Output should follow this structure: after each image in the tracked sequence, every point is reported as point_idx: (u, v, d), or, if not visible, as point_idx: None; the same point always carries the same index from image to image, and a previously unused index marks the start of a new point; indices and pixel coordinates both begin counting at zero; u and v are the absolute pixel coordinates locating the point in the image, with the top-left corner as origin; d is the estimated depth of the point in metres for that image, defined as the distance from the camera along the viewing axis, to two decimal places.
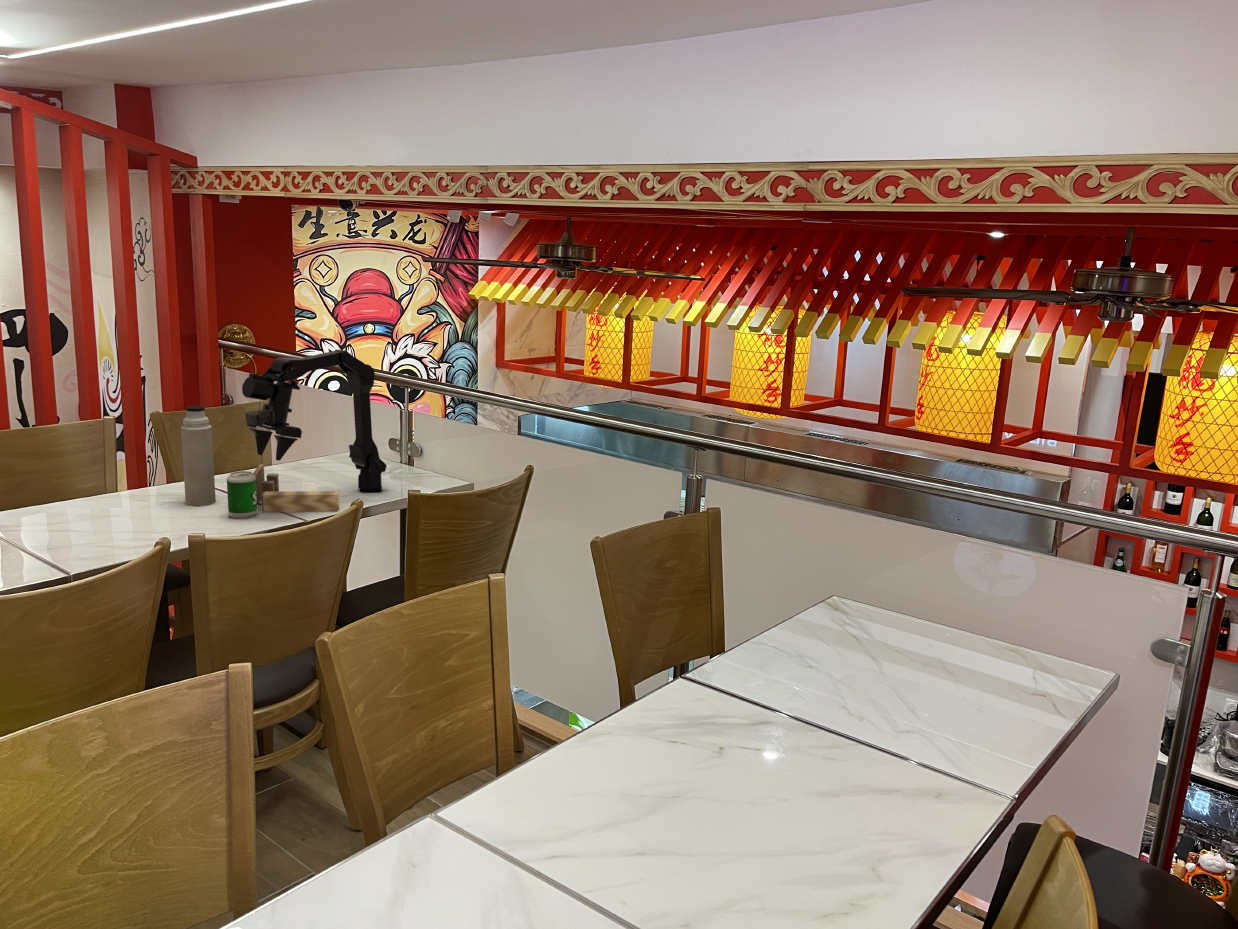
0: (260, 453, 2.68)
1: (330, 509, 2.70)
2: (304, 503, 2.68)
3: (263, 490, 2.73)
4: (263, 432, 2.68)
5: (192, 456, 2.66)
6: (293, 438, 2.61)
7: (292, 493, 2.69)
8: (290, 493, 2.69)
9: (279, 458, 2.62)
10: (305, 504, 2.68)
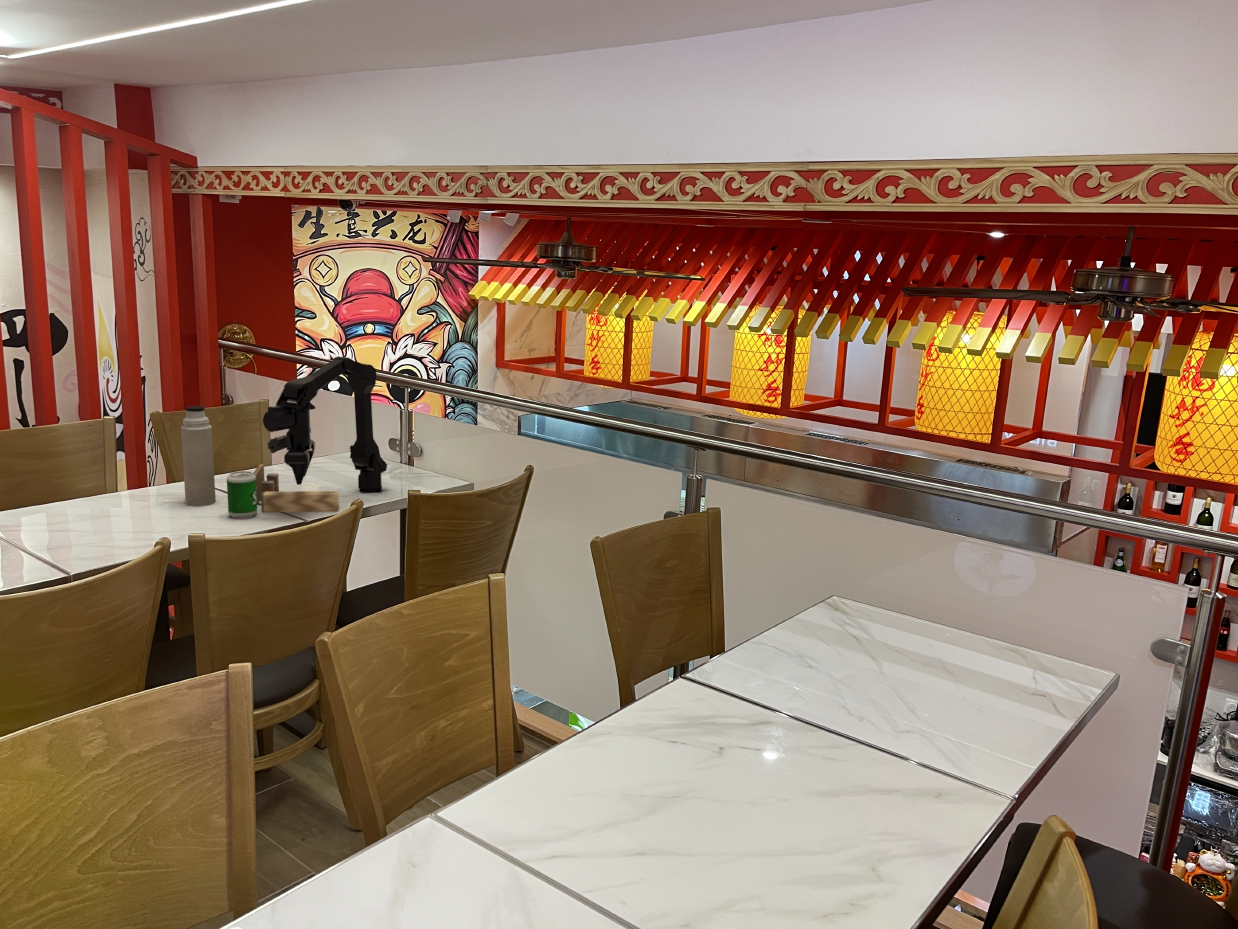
0: None
1: (330, 509, 2.70)
2: (304, 503, 2.68)
3: (263, 490, 2.73)
4: None
5: (192, 456, 2.66)
6: (301, 463, 2.60)
7: (292, 493, 2.69)
8: (290, 493, 2.69)
9: (299, 482, 2.64)
10: (305, 504, 2.68)
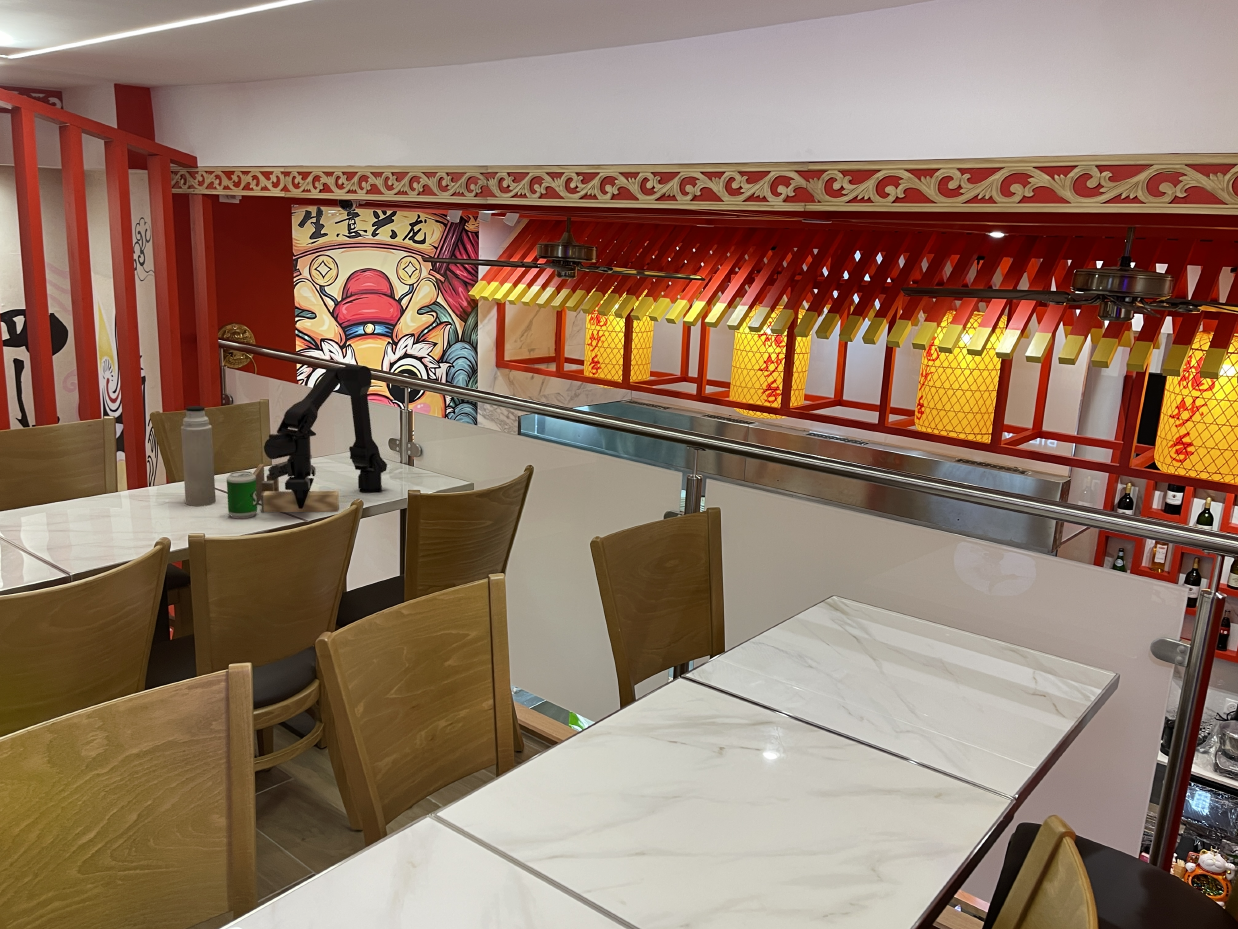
0: None
1: (330, 509, 2.70)
2: None
3: (263, 490, 2.73)
4: None
5: (192, 456, 2.66)
6: None
7: (292, 493, 2.69)
8: (290, 493, 2.69)
9: (301, 506, 2.68)
10: (305, 504, 2.68)
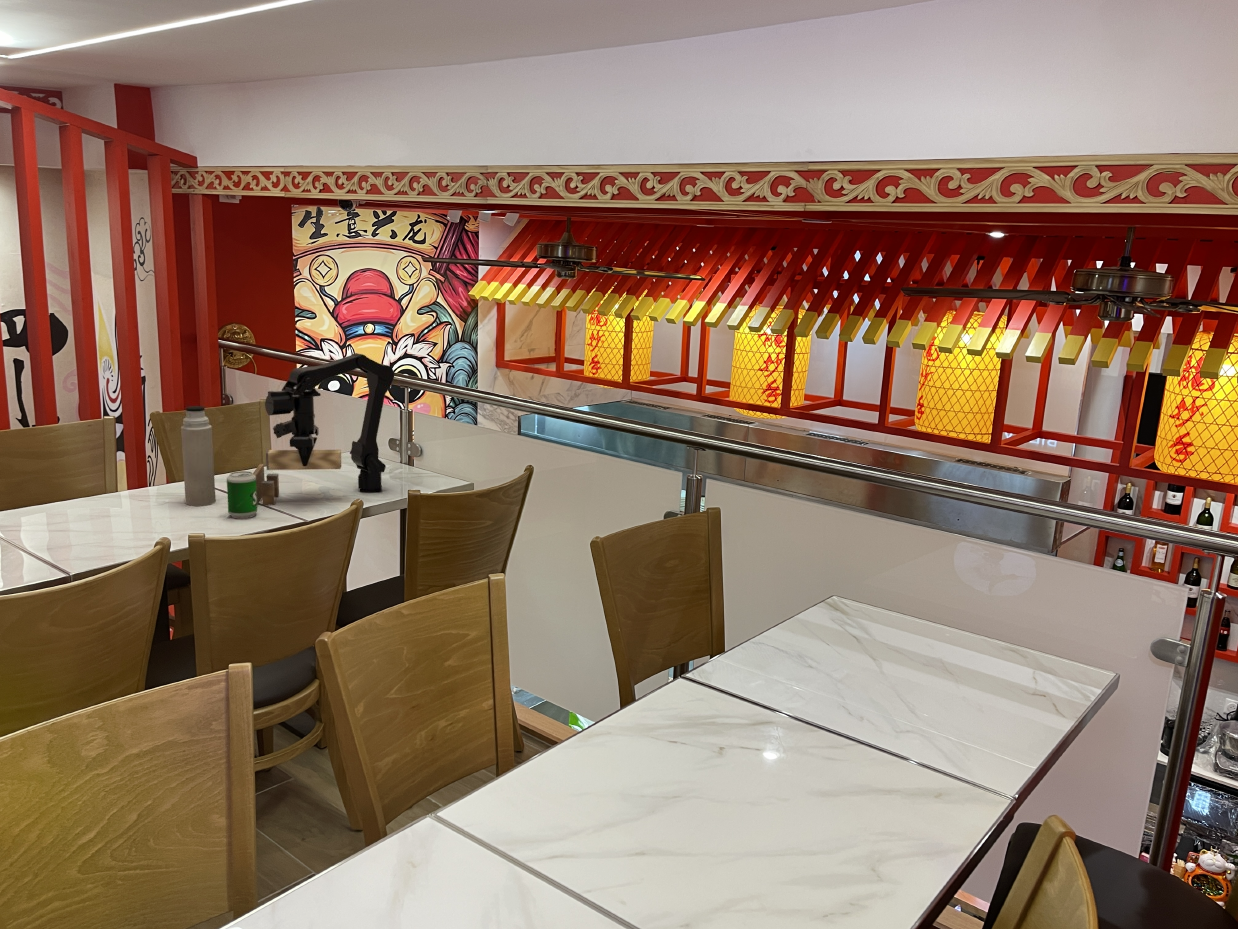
0: None
1: (333, 467, 2.78)
2: None
3: (263, 490, 2.73)
4: None
5: (192, 456, 2.66)
6: None
7: (296, 451, 2.77)
8: (294, 451, 2.77)
9: (305, 464, 2.76)
10: (309, 462, 2.77)
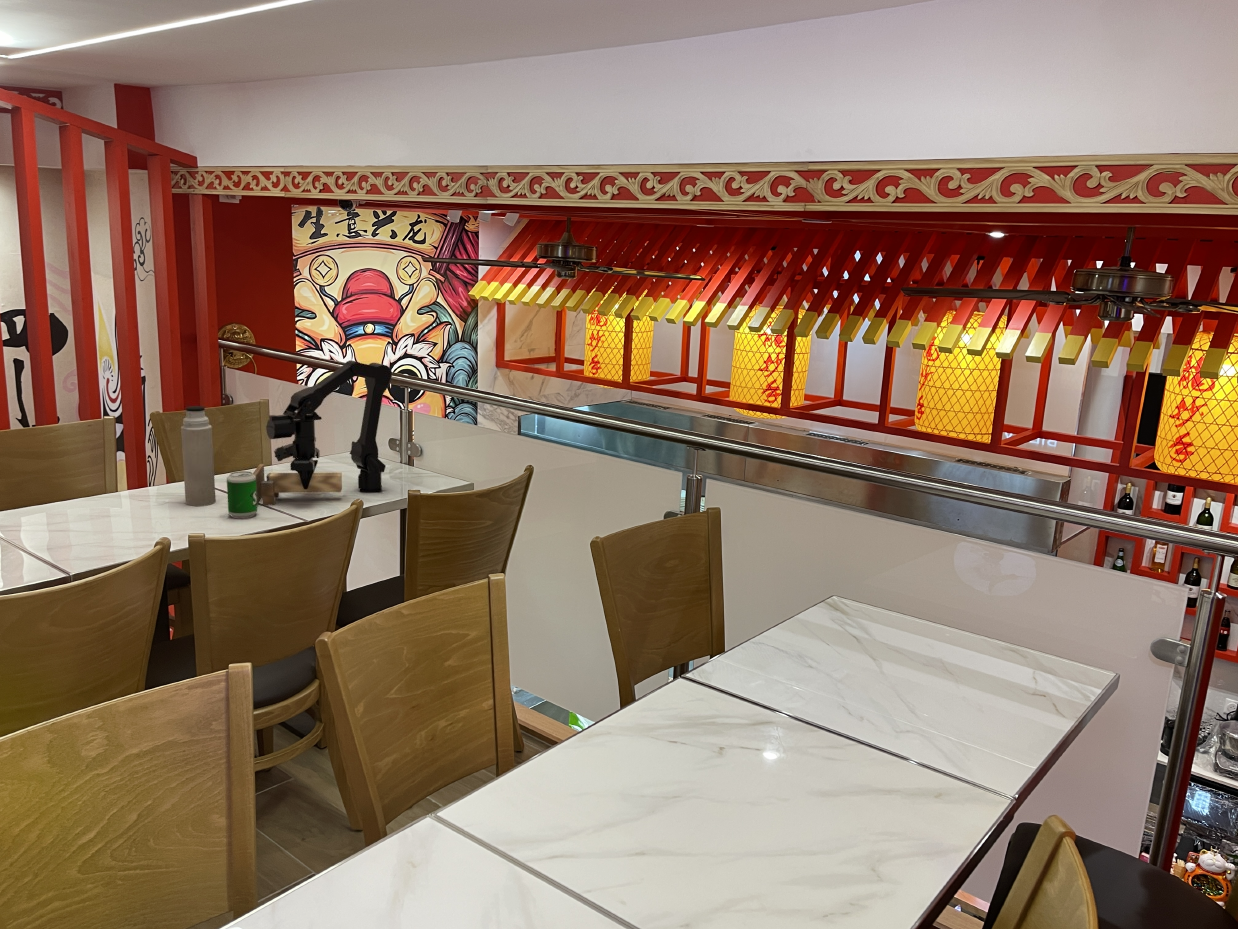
0: None
1: (334, 490, 2.80)
2: (309, 483, 2.78)
3: (263, 490, 2.73)
4: None
5: (192, 456, 2.66)
6: None
7: (297, 474, 2.79)
8: (295, 474, 2.78)
9: (305, 487, 2.78)
10: (310, 485, 2.78)
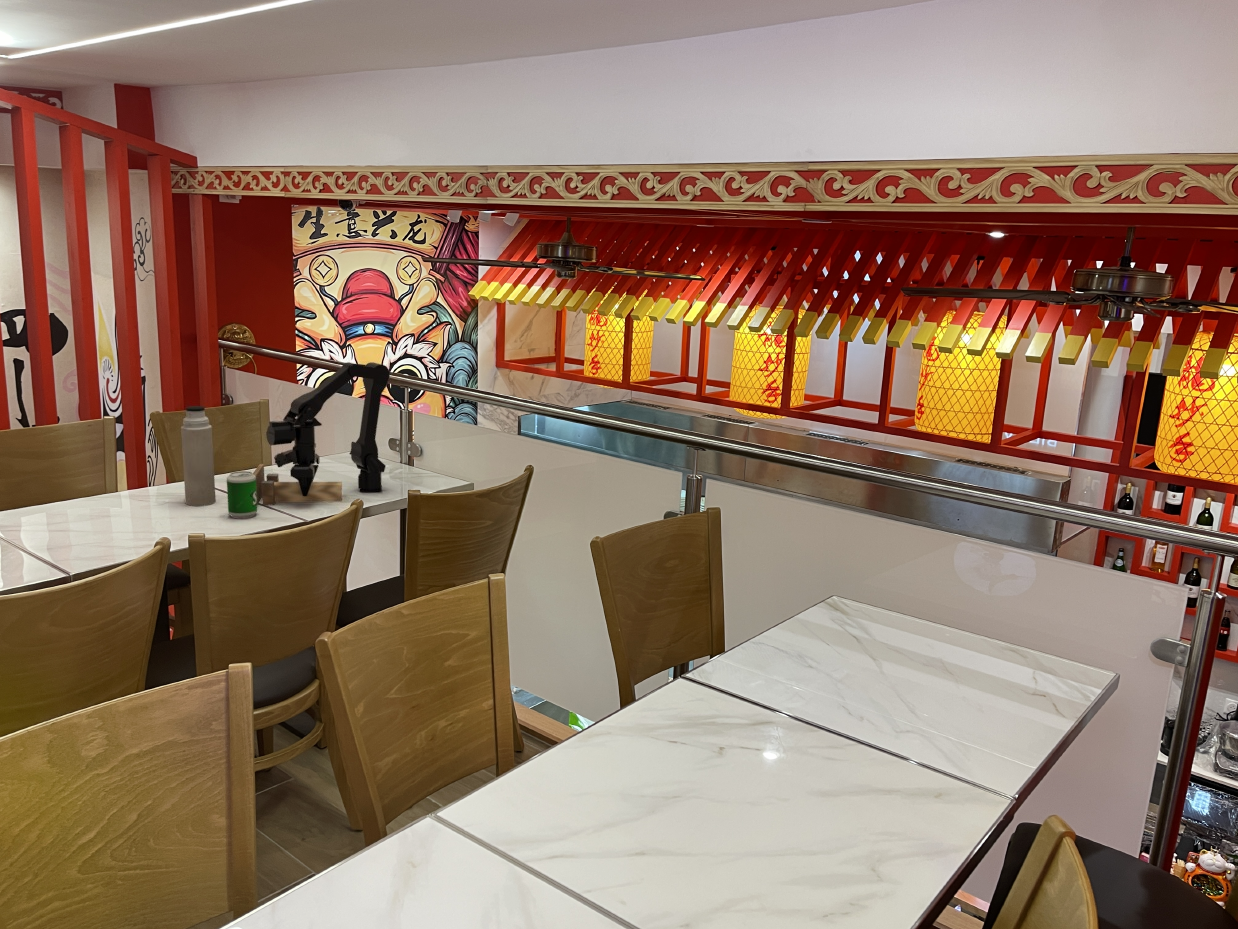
0: None
1: (334, 499, 2.81)
2: (309, 492, 2.79)
3: (263, 490, 2.73)
4: None
5: (192, 456, 2.66)
6: None
7: (297, 483, 2.79)
8: (295, 483, 2.79)
9: (305, 494, 2.77)
10: (310, 494, 2.79)
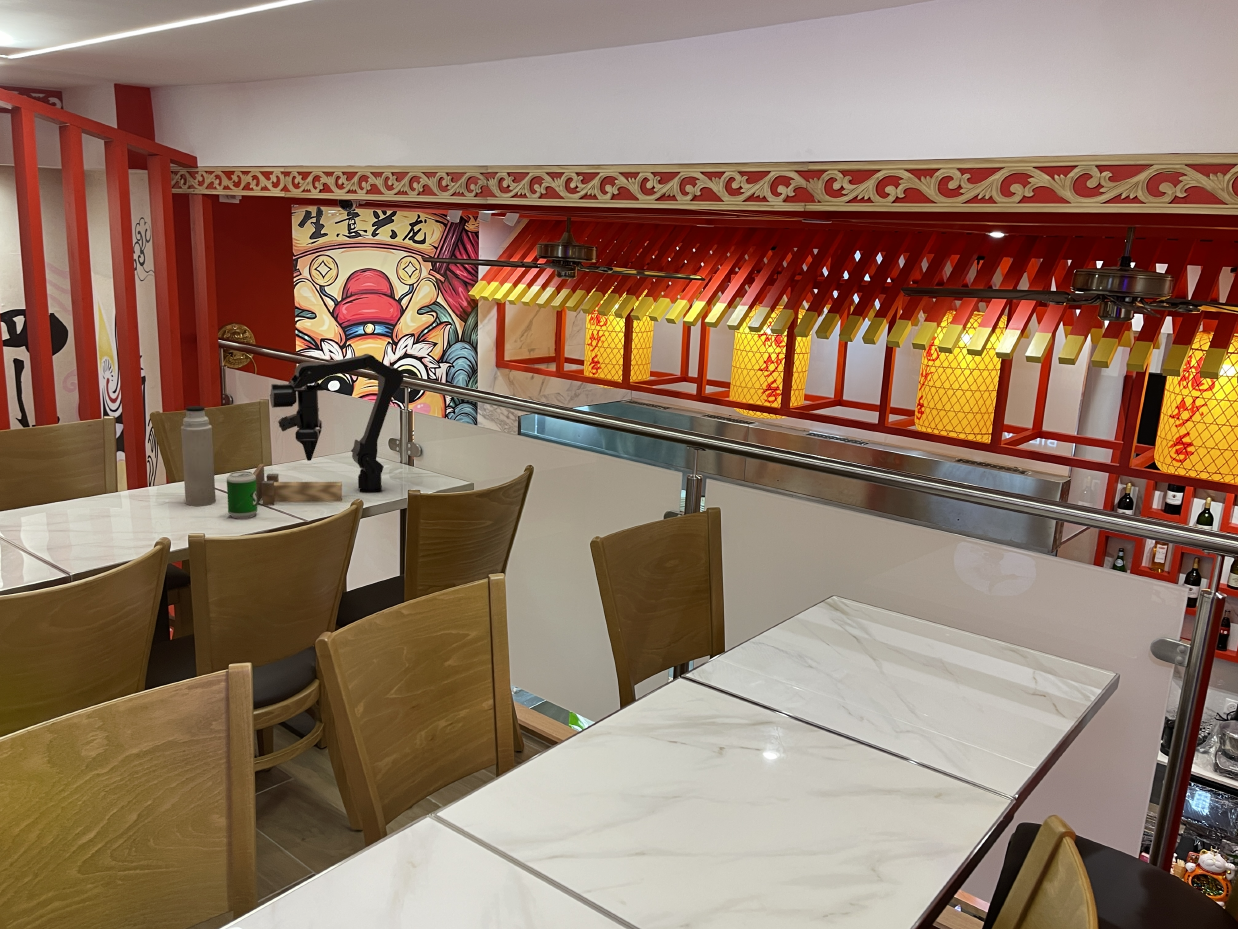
0: None
1: (334, 499, 2.81)
2: (309, 493, 2.79)
3: (263, 490, 2.73)
4: None
5: (192, 456, 2.66)
6: (311, 440, 2.75)
7: (297, 483, 2.79)
8: (295, 483, 2.79)
9: (309, 458, 2.79)
10: (310, 494, 2.79)
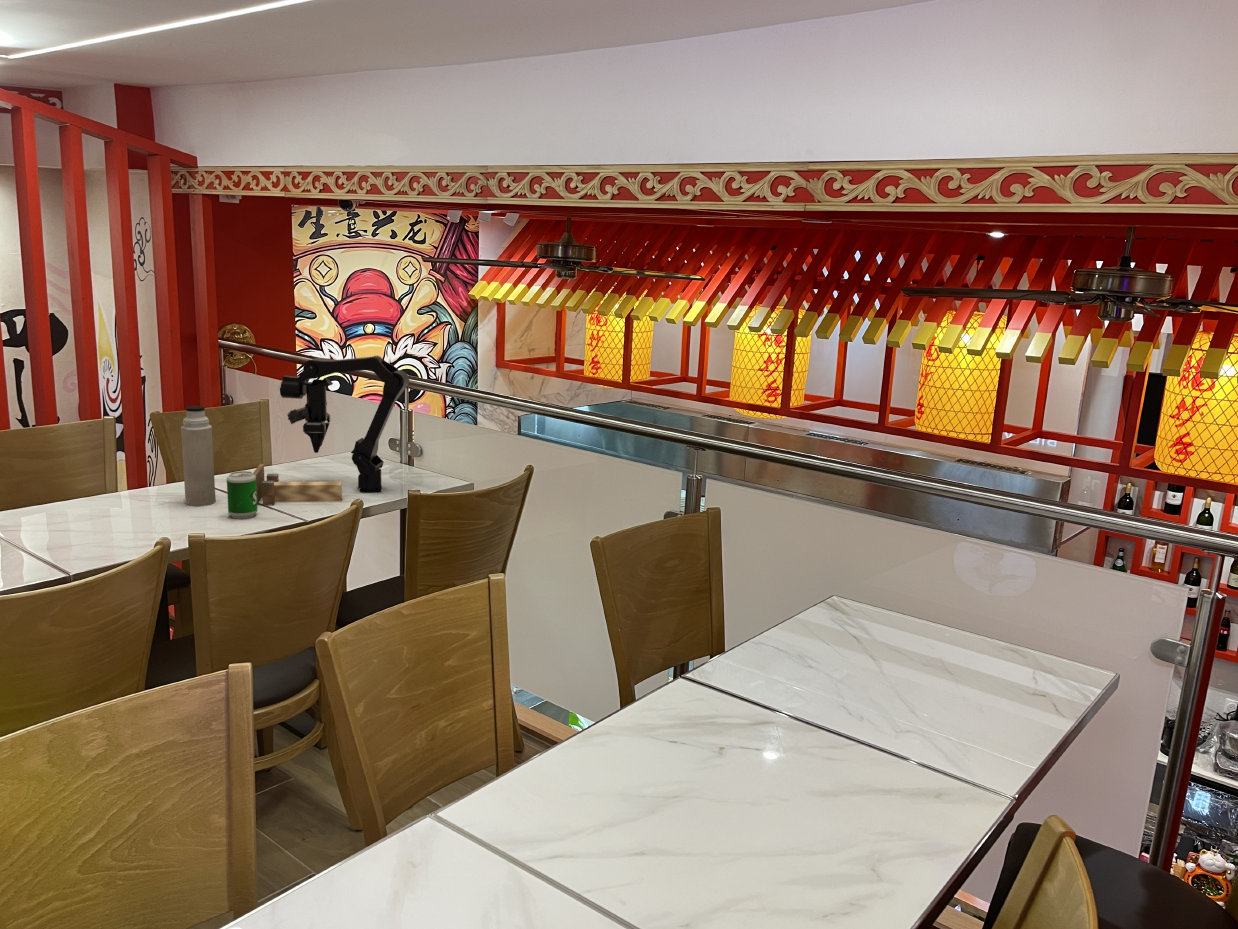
0: None
1: (334, 499, 2.81)
2: (309, 493, 2.79)
3: (263, 490, 2.73)
4: None
5: (192, 456, 2.66)
6: (318, 432, 2.84)
7: (297, 483, 2.79)
8: (295, 483, 2.79)
9: (316, 450, 2.88)
10: (310, 494, 2.79)
